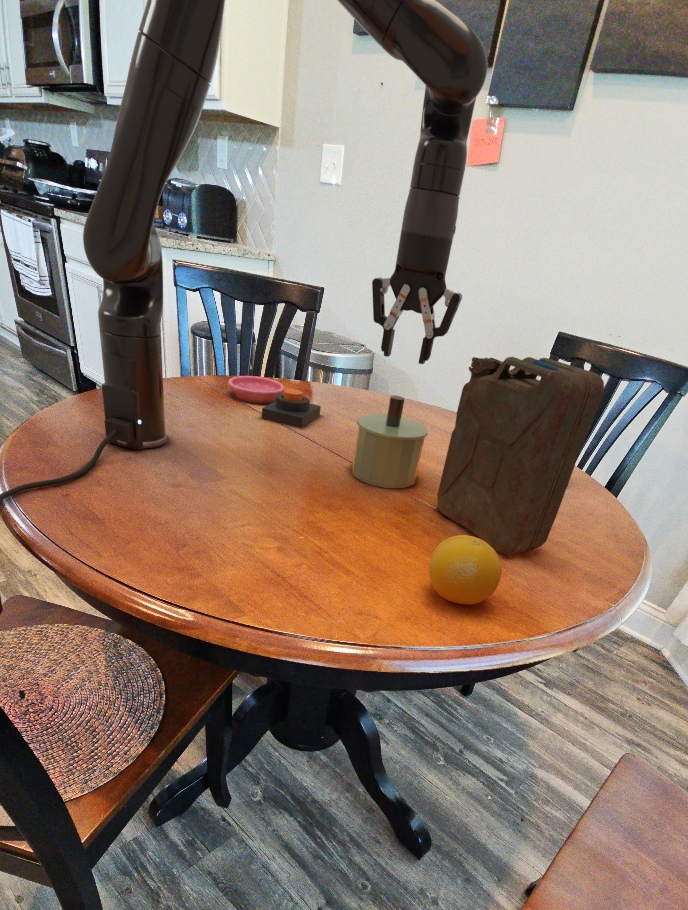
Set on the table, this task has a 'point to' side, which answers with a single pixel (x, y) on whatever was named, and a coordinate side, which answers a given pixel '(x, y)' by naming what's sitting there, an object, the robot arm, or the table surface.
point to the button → (293, 395)
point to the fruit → (464, 569)
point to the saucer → (255, 389)
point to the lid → (393, 423)
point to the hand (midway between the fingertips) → (404, 358)
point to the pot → (386, 460)
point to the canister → (516, 448)
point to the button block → (291, 411)
